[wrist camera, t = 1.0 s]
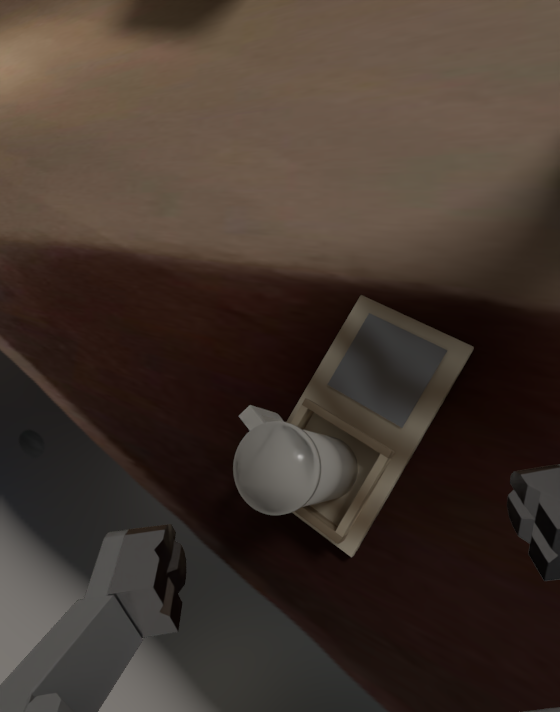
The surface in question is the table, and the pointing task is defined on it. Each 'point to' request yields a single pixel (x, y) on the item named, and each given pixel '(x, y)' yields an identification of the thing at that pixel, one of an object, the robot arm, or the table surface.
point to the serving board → (375, 408)
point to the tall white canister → (289, 465)
